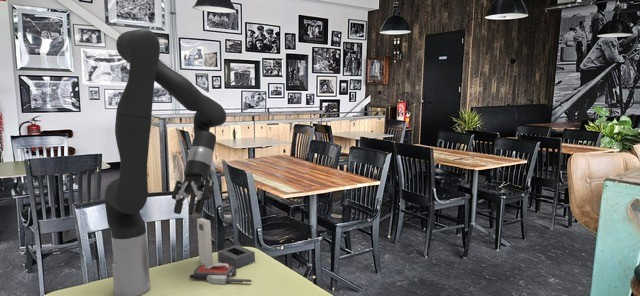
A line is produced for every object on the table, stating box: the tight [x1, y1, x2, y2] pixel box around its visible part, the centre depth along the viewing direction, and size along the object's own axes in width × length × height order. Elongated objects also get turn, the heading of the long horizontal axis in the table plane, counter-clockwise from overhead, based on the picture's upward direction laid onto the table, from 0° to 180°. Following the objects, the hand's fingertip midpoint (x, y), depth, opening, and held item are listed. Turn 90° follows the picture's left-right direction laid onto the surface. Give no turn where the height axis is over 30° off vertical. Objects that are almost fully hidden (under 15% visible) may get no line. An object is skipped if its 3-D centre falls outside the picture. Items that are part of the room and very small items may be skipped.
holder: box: [217, 244, 256, 270], centre depth 148 cm, size 10×8×4 cm
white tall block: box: [196, 217, 214, 265], centre depth 146 cm, size 5×2×15 cm, turn 46°
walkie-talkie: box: [189, 262, 253, 285], centre depth 135 cm, size 9×4×20 cm
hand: (187, 213), depth 131 cm, fingers open, 8 cm apart
